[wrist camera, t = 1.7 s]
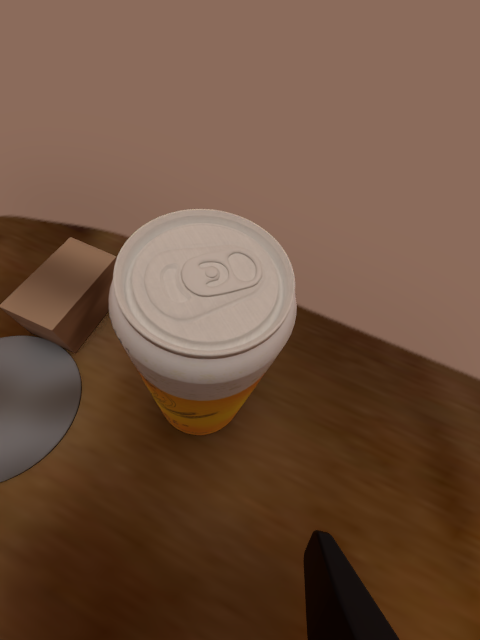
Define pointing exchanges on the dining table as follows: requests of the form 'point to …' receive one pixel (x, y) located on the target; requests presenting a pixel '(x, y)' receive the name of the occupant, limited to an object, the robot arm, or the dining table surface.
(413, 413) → the dining table surface
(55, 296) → the beam vee
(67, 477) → the dining table surface
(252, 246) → the beer can
